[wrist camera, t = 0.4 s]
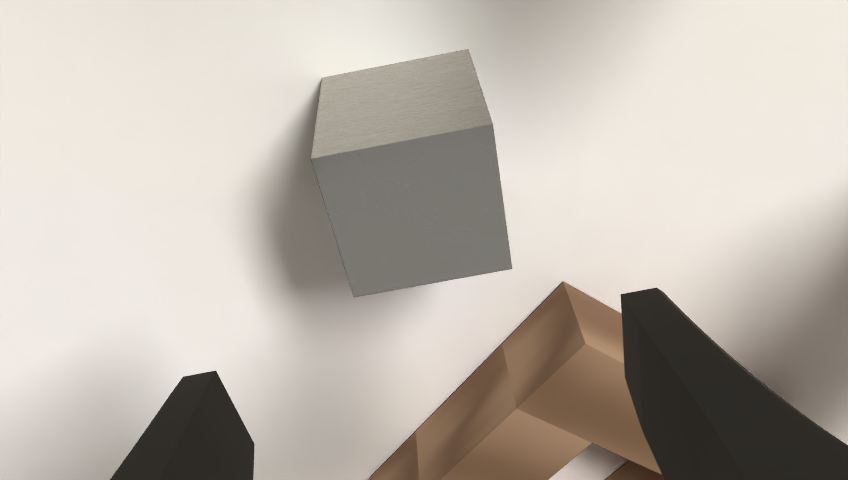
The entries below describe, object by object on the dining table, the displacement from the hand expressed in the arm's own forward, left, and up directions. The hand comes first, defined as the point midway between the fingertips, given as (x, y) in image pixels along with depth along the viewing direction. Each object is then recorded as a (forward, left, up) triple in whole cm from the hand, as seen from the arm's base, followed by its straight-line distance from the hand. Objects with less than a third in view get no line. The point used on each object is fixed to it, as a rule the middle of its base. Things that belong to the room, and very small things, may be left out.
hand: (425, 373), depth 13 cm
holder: (-4, +15, -9) cm, 18 cm away
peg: (0, 0, -9) cm, 9 cm away
